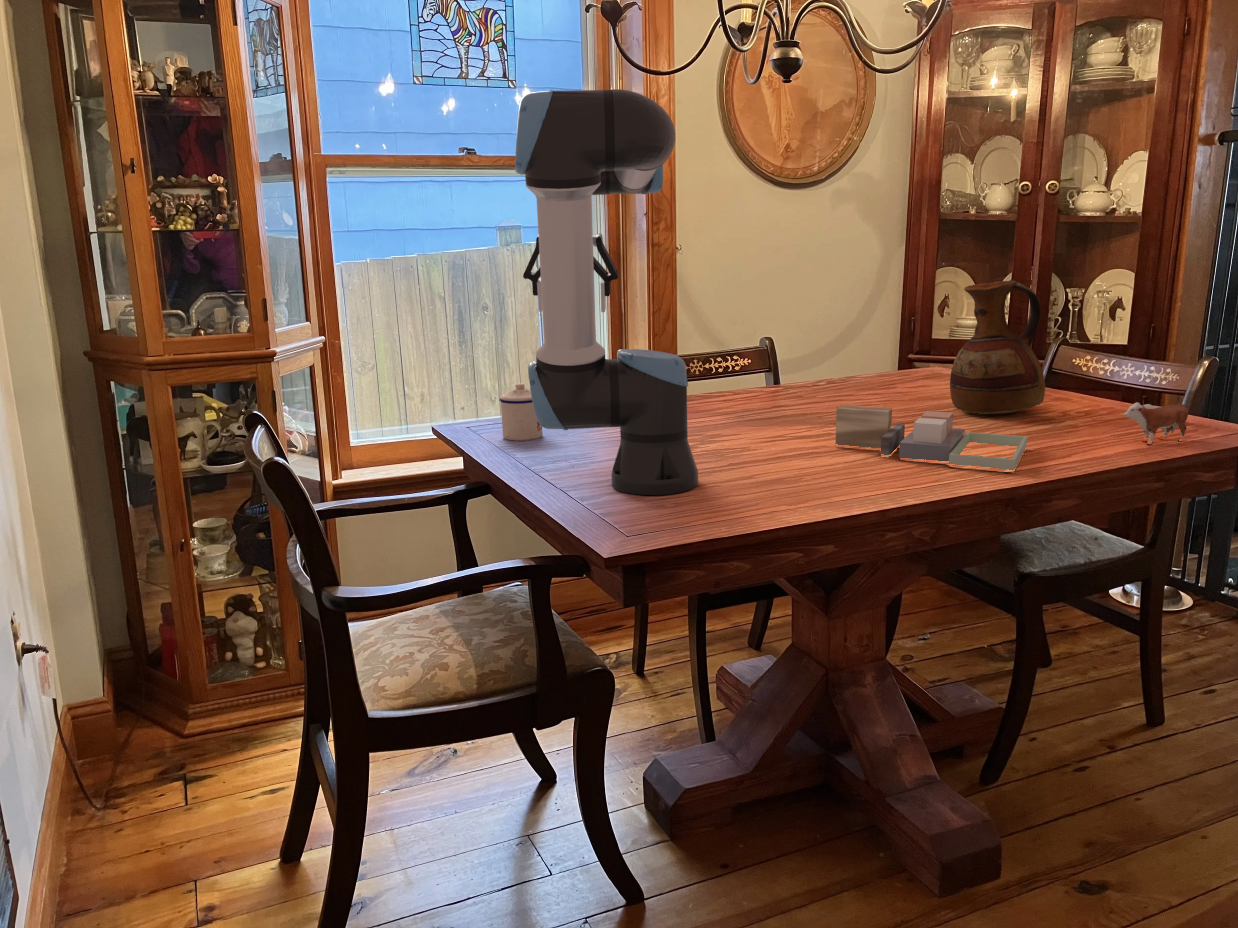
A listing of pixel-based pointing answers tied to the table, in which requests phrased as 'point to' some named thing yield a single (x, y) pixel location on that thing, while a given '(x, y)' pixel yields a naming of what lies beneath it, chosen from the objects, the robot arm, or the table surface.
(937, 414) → the reddish brown block
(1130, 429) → the table surface
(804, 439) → the table surface
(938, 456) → the slate board
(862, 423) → the beige slab
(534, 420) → the teacup with lid
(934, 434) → the light grey block
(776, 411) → the table surface
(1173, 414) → the bull figurine
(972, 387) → the ceramic pitcher
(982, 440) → the tray
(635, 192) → the robot arm
